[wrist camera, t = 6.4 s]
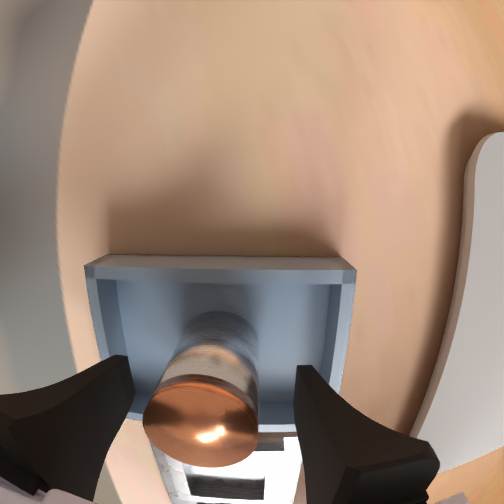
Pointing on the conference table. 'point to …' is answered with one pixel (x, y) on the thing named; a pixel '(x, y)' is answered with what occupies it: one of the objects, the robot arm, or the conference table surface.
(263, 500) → the base
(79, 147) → the conference table surface
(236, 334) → the copper lid glass jar
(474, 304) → the tablet
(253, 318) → the parts tray
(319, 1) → the conference table surface
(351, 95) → the conference table surface
